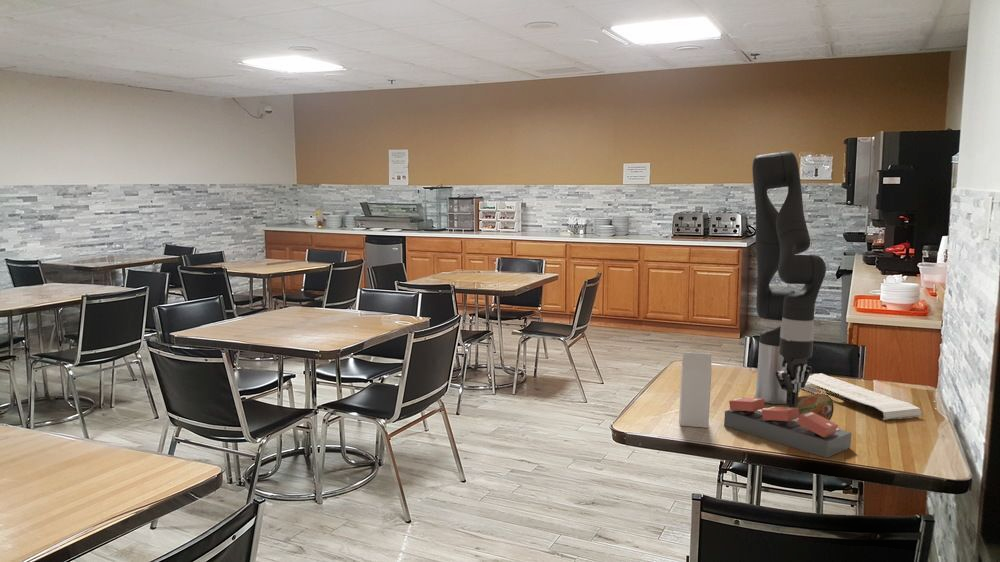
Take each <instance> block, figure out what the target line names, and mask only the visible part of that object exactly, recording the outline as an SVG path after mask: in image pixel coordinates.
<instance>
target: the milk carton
mask: <svg viewBox="0 0 1000 562" xmlns="http://www.w3.org/2000/svg"><path fill="white" fill-rule="evenodd" d="M682 355H683V356H682V361H681V362H682V363H681V376H680V393H679V394H680V395H679V412H678V413H679V414H678V419H679V425H680V426H682V427H683V426H684V427H692V428H693V427H694V428H706V429H707V428H709V421H710V404H711V389H712V386H711V385H712V353H705V352H704V353H703V352H689V351H688V352H687V351H683V354H682Z"/></svg>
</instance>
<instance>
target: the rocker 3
mask: <svg viewBox="0 0 1000 562" xmlns="http://www.w3.org/2000/svg"><path fill="white" fill-rule="evenodd" d="M797 424H799V425H801V426H803V427H804V428H806V429H808V430H810V431H812V432H814V433H816V434H818V435H820V436H822V437H827V436H830V435H832V434H835V432H836V429H837V428H838V425H839V424H838V423H836V422H833V421H832V420H831V419H830V420H828V419H826V418H824V417H822V416H820V415H818V414H815V413H813V412H811V411H810V412H807V413H804V414H801V415H800V416H799V420H798V423H797Z"/></svg>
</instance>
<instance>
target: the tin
mask: <svg viewBox="0 0 1000 562" xmlns="http://www.w3.org/2000/svg"><path fill="white" fill-rule="evenodd" d="M788 407H790V406H788ZM834 407H835V406H834V401H832V399H831V398H830V397H829V396H828V395H825V394H818V393H817V394H813V393H811V394H807V395H802V396H801V395H800V396H798V405H797V406H795V407H791V408H798V410H799V416H800V415H801V414H804V413H807V412H810V411H811V412H813V413H815V414H818V415H820V416H822V417H824V418H826V419H828V420H830V421H831V419H832V417H833V414H834Z"/></svg>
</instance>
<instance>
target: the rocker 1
mask: <svg viewBox="0 0 1000 562" xmlns="http://www.w3.org/2000/svg"><path fill="white" fill-rule="evenodd" d="M728 402H729V410H740V411H756V410H760V409H763V408H766V405H765V404H766V403H765V402H764V399H761V398H756V397H738V398H735V399H731V400H729V401H728Z"/></svg>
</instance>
